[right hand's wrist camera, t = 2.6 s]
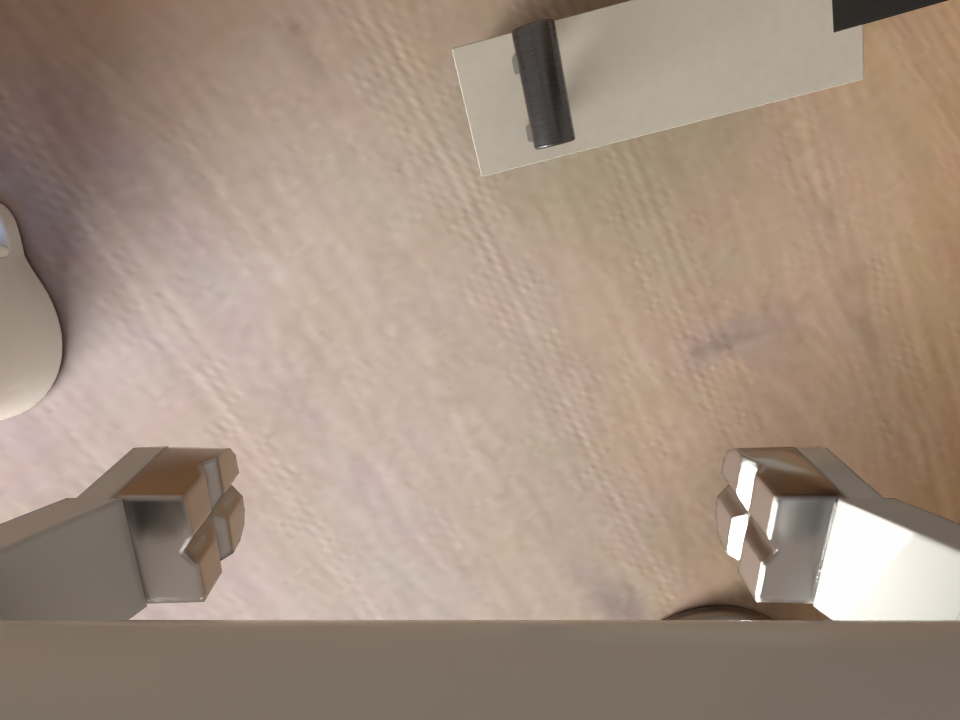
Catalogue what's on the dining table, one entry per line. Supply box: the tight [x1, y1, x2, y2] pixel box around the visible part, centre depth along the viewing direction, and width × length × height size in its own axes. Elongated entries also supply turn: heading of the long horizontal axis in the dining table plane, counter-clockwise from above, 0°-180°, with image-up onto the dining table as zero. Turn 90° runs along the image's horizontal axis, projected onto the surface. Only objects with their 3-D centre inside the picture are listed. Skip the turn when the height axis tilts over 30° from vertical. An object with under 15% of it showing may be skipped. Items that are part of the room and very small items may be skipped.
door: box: [452, 0, 864, 177], centre depth 24 cm, size 18×6×8 cm, turn 104°
